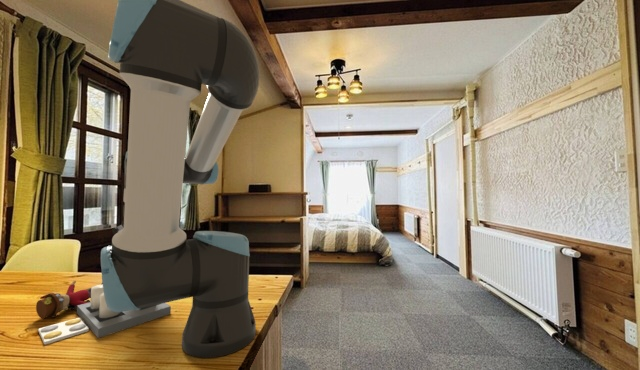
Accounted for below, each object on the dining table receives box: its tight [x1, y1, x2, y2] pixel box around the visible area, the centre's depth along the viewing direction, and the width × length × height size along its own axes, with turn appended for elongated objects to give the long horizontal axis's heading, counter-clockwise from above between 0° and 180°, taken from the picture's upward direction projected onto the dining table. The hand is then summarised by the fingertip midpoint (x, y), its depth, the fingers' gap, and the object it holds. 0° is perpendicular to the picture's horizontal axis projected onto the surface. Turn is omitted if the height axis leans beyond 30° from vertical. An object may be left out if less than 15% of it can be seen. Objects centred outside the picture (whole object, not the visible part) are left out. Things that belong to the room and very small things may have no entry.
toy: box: [35, 280, 102, 320], centre depth 72 cm, size 11×7×15 cm
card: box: [38, 317, 90, 346], centre depth 60 cm, size 9×7×1 cm
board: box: [76, 301, 172, 339], centre depth 69 cm, size 20×15×2 cm
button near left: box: [99, 293, 120, 318], centre depth 63 cm, size 4×4×5 cm
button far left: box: [90, 283, 104, 309], centre depth 68 cm, size 4×4×5 cm
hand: (136, 285), depth 75 cm, fingers closed
